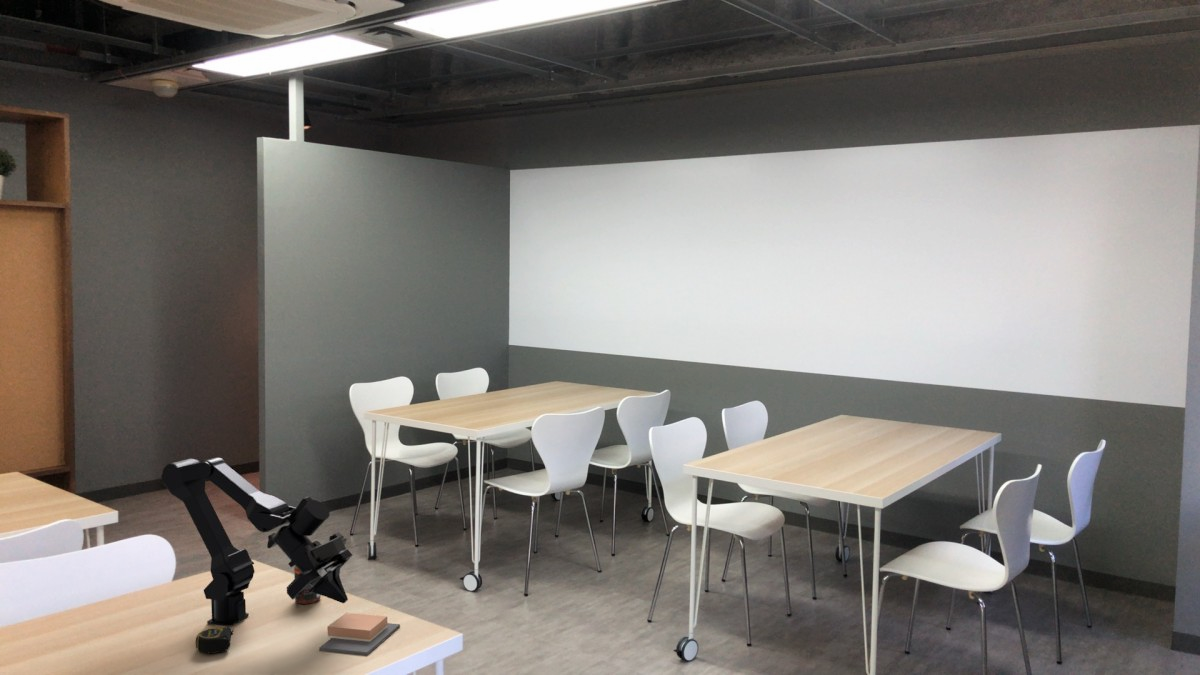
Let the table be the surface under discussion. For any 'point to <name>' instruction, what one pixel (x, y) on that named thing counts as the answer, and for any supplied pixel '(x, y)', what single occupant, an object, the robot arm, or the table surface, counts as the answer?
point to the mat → (358, 643)
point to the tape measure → (214, 640)
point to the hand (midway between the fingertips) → (345, 601)
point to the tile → (357, 627)
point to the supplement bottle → (305, 592)
